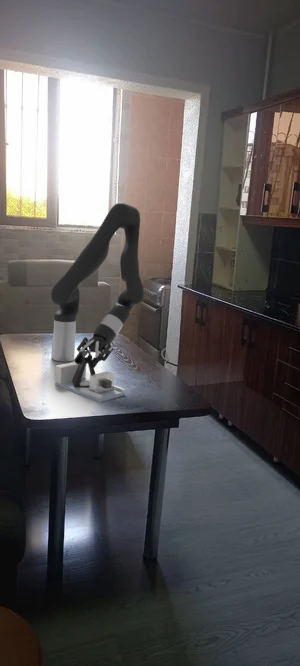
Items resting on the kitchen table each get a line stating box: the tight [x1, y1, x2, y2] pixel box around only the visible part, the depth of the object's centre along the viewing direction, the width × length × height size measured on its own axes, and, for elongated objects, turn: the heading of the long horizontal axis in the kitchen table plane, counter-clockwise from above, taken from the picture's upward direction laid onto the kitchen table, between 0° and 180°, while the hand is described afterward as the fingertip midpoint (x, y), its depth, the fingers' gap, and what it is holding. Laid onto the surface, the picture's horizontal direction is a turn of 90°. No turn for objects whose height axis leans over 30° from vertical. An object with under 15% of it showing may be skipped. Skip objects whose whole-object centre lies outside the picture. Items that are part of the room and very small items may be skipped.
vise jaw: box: [89, 370, 116, 394], centre depth 177 cm, size 5×9×6 cm, turn 139°
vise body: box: [54, 361, 126, 403], centre depth 181 cm, size 24×12×7 cm, turn 49°
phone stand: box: [72, 350, 97, 387], centre depth 182 cm, size 9×6×12 cm, turn 105°
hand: (83, 365), depth 181 cm, fingers open, 7 cm apart
